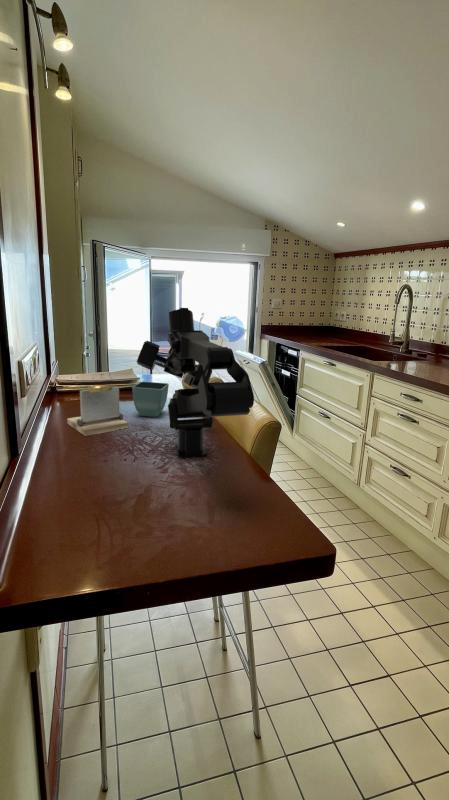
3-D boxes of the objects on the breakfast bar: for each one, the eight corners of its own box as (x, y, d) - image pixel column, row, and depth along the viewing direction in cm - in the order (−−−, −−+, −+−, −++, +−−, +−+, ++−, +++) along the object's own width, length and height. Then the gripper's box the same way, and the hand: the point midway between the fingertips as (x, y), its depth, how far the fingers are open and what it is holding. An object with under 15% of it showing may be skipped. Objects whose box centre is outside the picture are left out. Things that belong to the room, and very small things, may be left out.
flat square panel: (119, 419, 115) (119, 384, 112) (83, 425, 108) (81, 388, 106) (117, 418, 116) (116, 383, 114) (80, 424, 110) (79, 387, 107)
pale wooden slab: (128, 428, 113) (128, 417, 113) (85, 436, 106) (84, 424, 105) (108, 417, 122) (108, 407, 121) (67, 423, 115) (66, 413, 114)
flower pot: (169, 411, 130) (169, 382, 128) (162, 419, 122) (162, 389, 120) (140, 409, 131) (140, 381, 129) (131, 417, 123) (131, 387, 120)
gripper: (226, 343, 107) (209, 360, 121) (156, 312, 102) (146, 334, 117) (213, 384, 104) (196, 396, 118) (139, 354, 99) (132, 370, 114)
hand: (169, 373), depth 117 cm, fingers open, 9 cm apart
